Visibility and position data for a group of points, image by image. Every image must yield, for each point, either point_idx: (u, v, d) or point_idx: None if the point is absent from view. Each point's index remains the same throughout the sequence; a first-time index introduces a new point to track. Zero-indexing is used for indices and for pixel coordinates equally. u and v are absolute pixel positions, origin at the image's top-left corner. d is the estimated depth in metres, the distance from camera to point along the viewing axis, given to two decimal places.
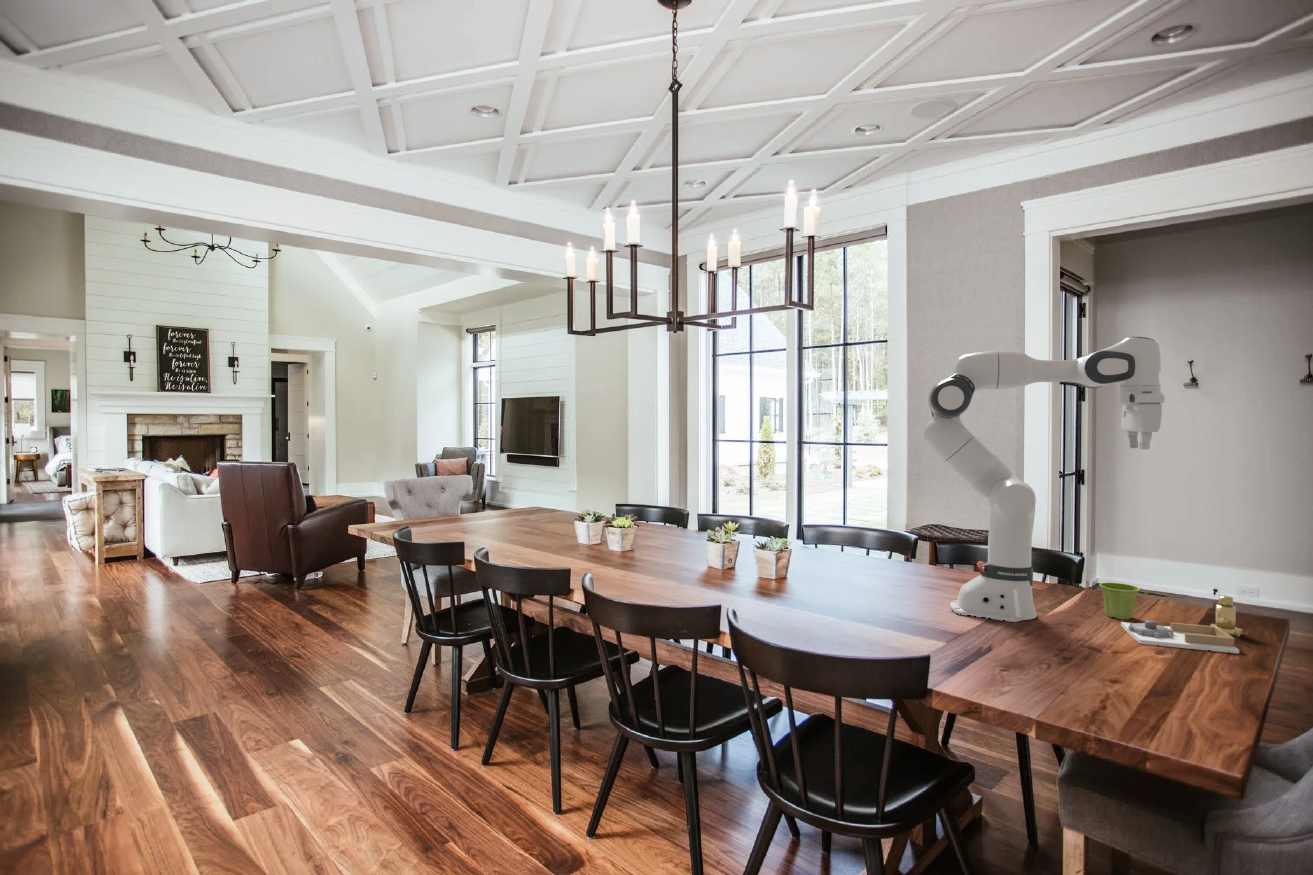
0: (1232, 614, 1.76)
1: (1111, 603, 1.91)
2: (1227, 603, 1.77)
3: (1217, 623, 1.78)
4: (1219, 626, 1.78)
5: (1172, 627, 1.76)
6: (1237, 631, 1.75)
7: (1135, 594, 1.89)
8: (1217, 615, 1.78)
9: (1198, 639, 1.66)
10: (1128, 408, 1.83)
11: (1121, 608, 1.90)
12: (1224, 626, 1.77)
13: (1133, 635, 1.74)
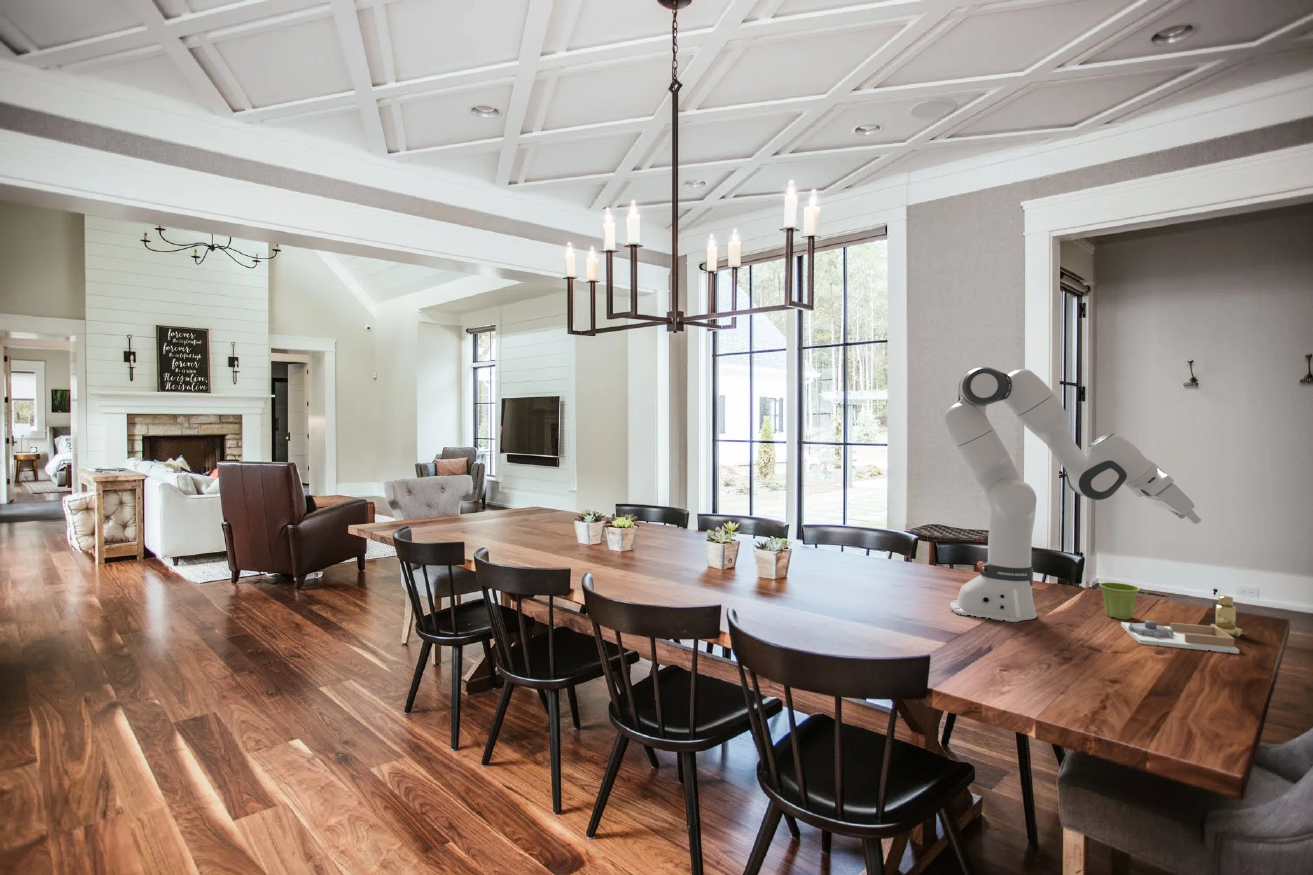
0: (1232, 614, 1.76)
1: (1111, 603, 1.91)
2: (1227, 603, 1.77)
3: (1217, 623, 1.78)
4: (1219, 626, 1.78)
5: (1172, 627, 1.76)
6: (1237, 631, 1.75)
7: (1135, 594, 1.89)
8: (1217, 615, 1.78)
9: (1198, 639, 1.66)
10: (1149, 497, 1.82)
11: (1121, 608, 1.90)
12: (1224, 626, 1.77)
13: (1133, 635, 1.74)
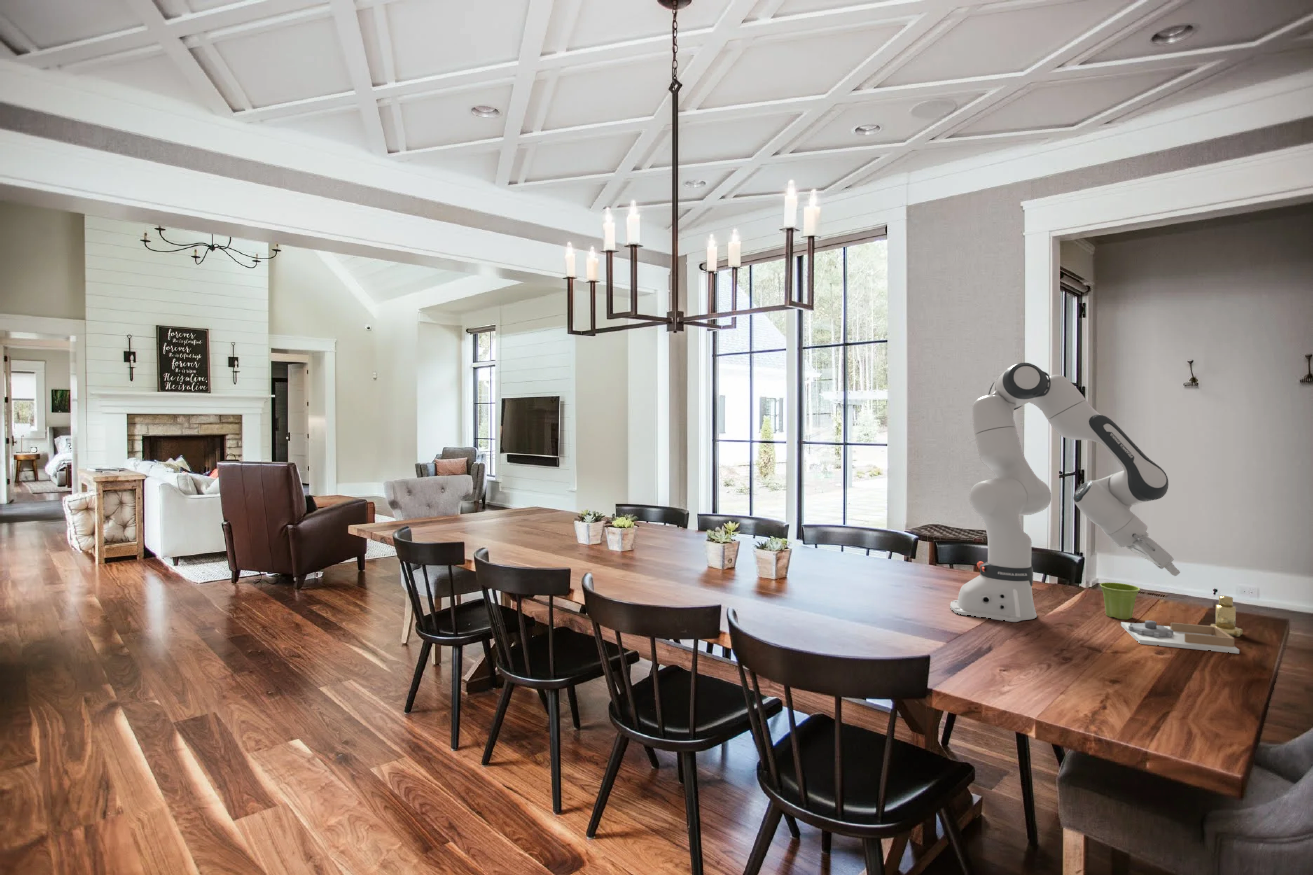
0: (1232, 614, 1.76)
1: (1111, 603, 1.91)
2: (1227, 603, 1.77)
3: (1217, 623, 1.78)
4: (1219, 626, 1.78)
5: (1172, 627, 1.76)
6: (1237, 631, 1.75)
7: (1135, 594, 1.89)
8: (1217, 615, 1.78)
9: (1198, 639, 1.66)
10: None
11: (1121, 608, 1.90)
12: (1224, 626, 1.77)
13: (1133, 635, 1.74)
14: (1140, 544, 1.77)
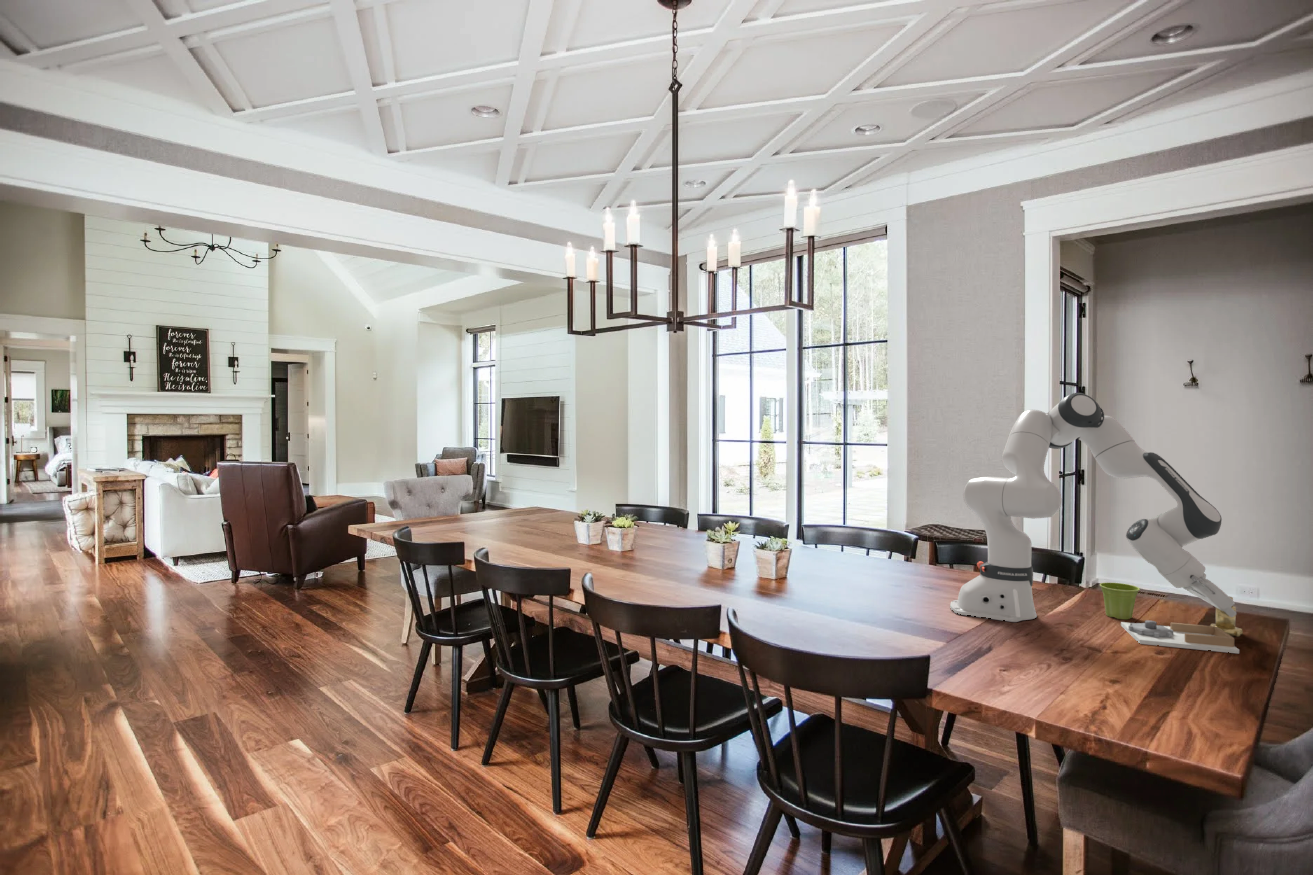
0: None
1: (1111, 603, 1.91)
2: None
3: (1217, 623, 1.78)
4: (1219, 626, 1.78)
5: (1172, 627, 1.76)
6: (1237, 631, 1.75)
7: (1134, 594, 1.89)
8: (1217, 615, 1.78)
9: (1198, 639, 1.66)
10: None
11: (1121, 608, 1.90)
12: (1224, 626, 1.77)
13: (1133, 635, 1.74)
14: (1199, 587, 1.73)
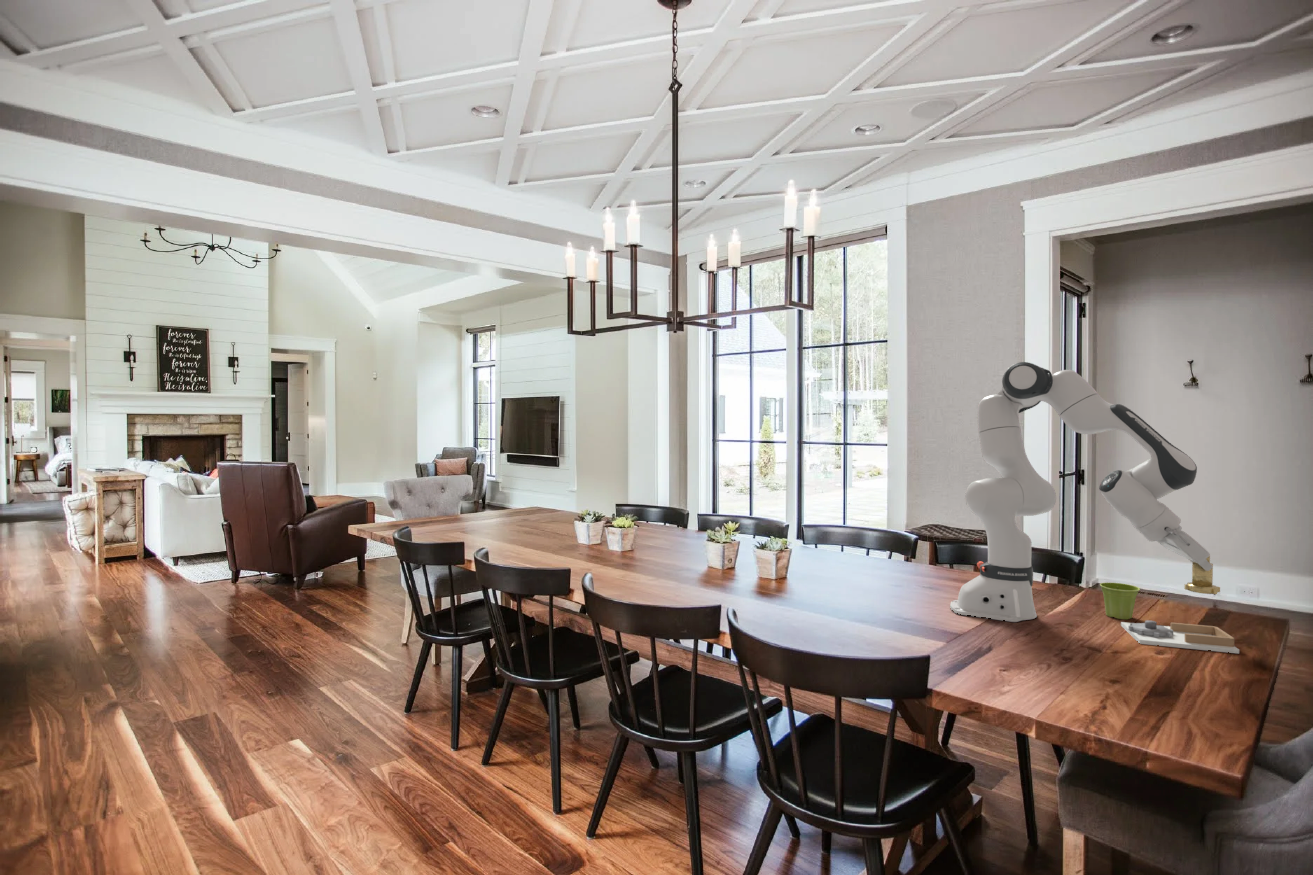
0: (1208, 571, 1.68)
1: (1111, 603, 1.91)
2: None
3: (1193, 581, 1.70)
4: (1195, 584, 1.70)
5: (1172, 627, 1.76)
6: (1214, 589, 1.67)
7: (1135, 594, 1.89)
8: (1193, 573, 1.70)
9: (1198, 639, 1.66)
10: None
11: (1121, 608, 1.90)
12: (1201, 584, 1.69)
13: (1133, 635, 1.74)
14: (1173, 539, 1.65)
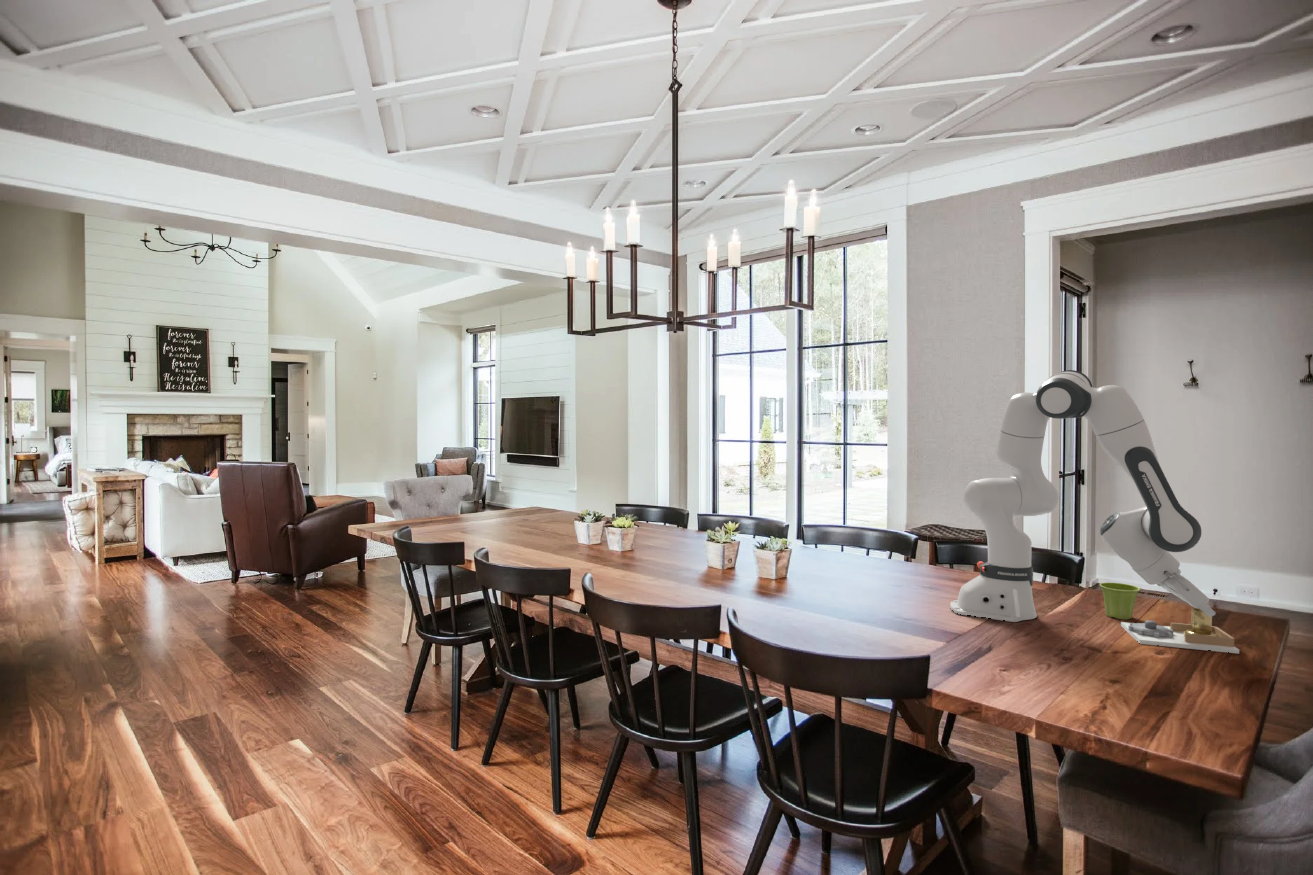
0: (1208, 619, 1.68)
1: (1111, 603, 1.91)
2: None
3: (1193, 628, 1.70)
4: (1195, 631, 1.70)
5: (1172, 627, 1.76)
6: None
7: (1135, 594, 1.89)
8: (1193, 620, 1.70)
9: (1198, 639, 1.66)
10: None
11: (1121, 608, 1.90)
12: (1200, 631, 1.69)
13: (1133, 635, 1.74)
14: (1173, 583, 1.65)
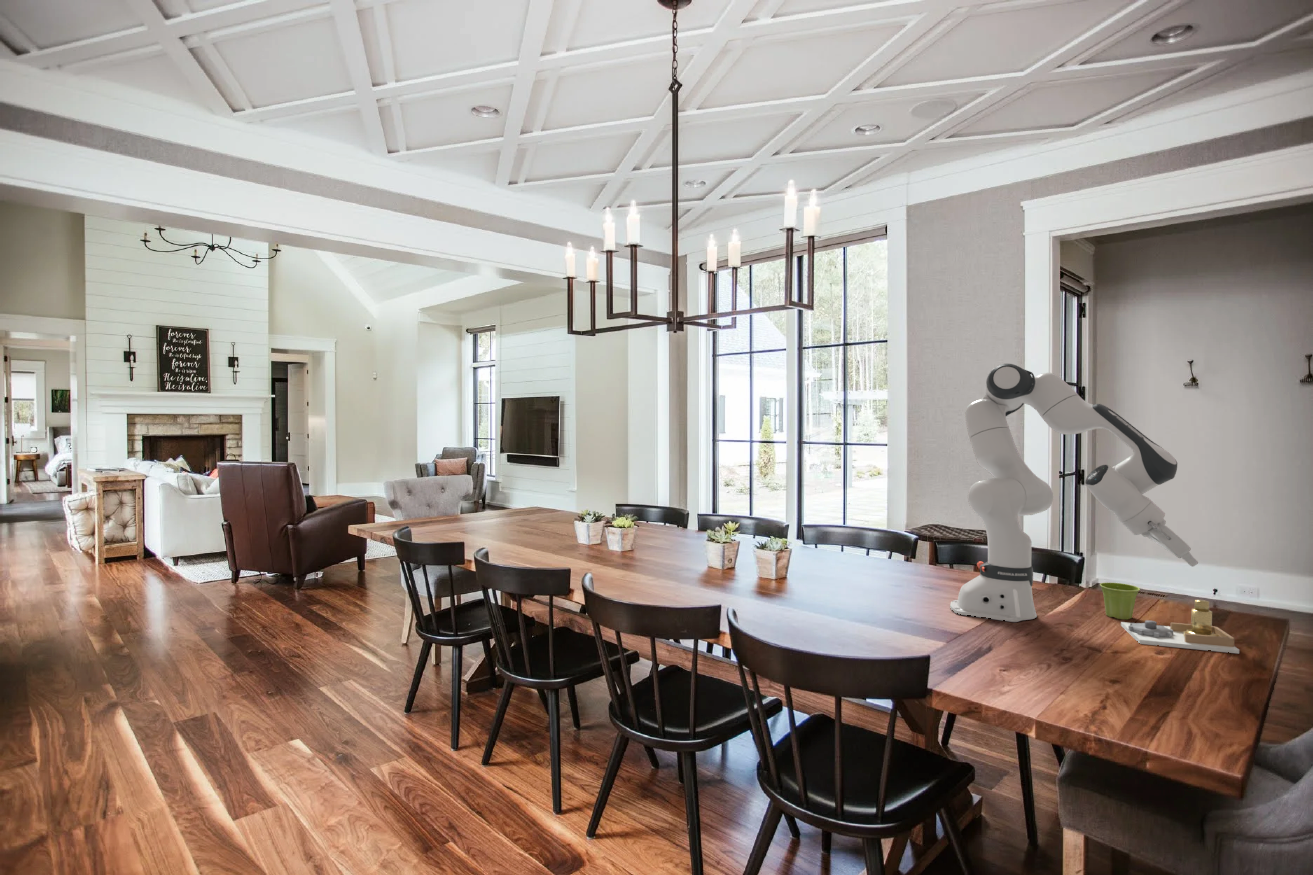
0: (1208, 619, 1.68)
1: (1111, 603, 1.91)
2: (1203, 607, 1.69)
3: (1193, 628, 1.70)
4: (1195, 631, 1.70)
5: (1172, 627, 1.76)
6: None
7: (1135, 594, 1.89)
8: (1193, 620, 1.70)
9: (1198, 639, 1.66)
10: None
11: (1121, 608, 1.90)
12: (1200, 631, 1.69)
13: (1133, 635, 1.74)
14: (1155, 533, 1.68)
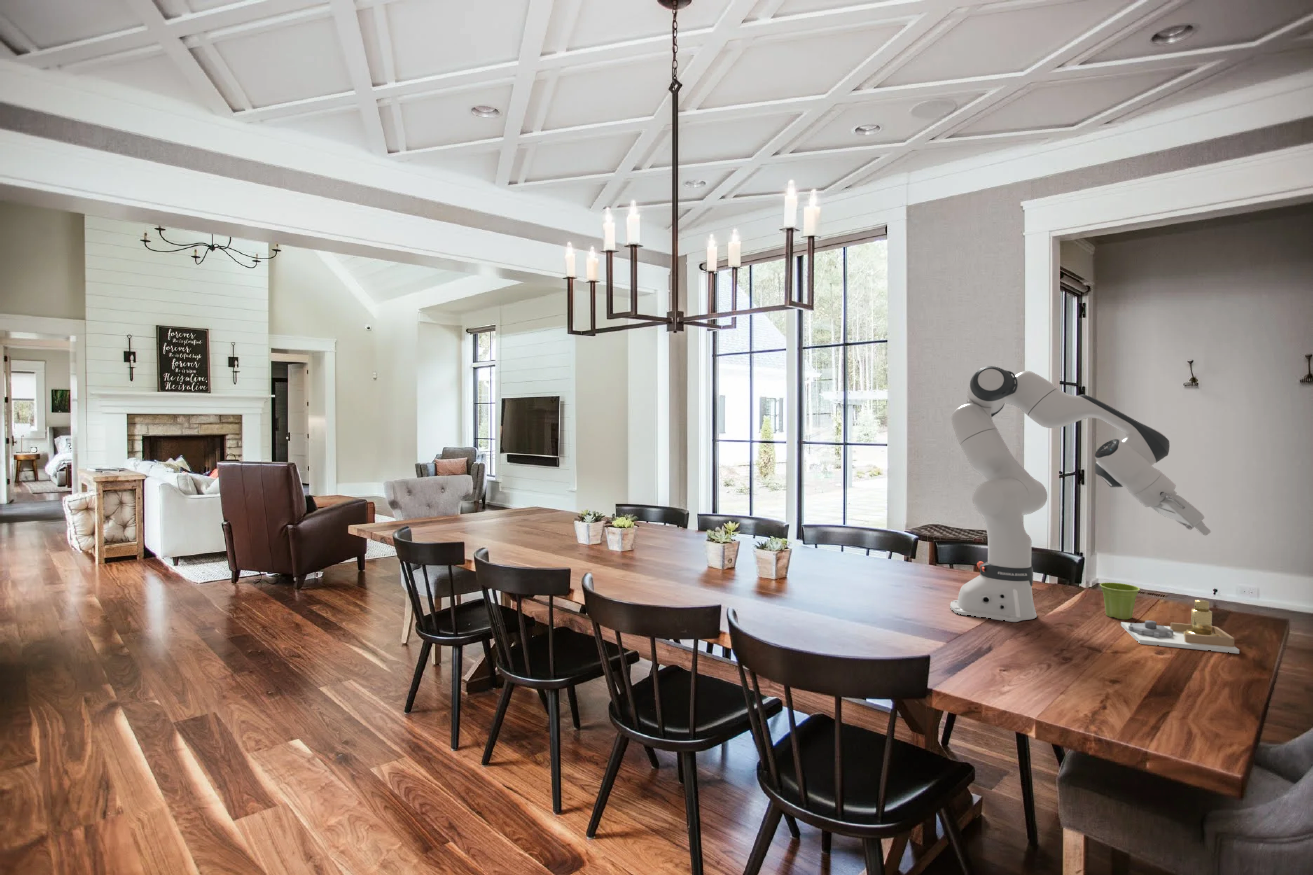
0: (1208, 619, 1.68)
1: (1111, 603, 1.91)
2: (1203, 607, 1.69)
3: (1193, 628, 1.70)
4: (1195, 631, 1.70)
5: (1172, 627, 1.76)
6: None
7: (1135, 594, 1.89)
8: (1193, 620, 1.70)
9: (1198, 639, 1.66)
10: None
11: (1121, 608, 1.90)
12: (1200, 631, 1.69)
13: (1133, 635, 1.74)
14: (1169, 502, 1.69)
